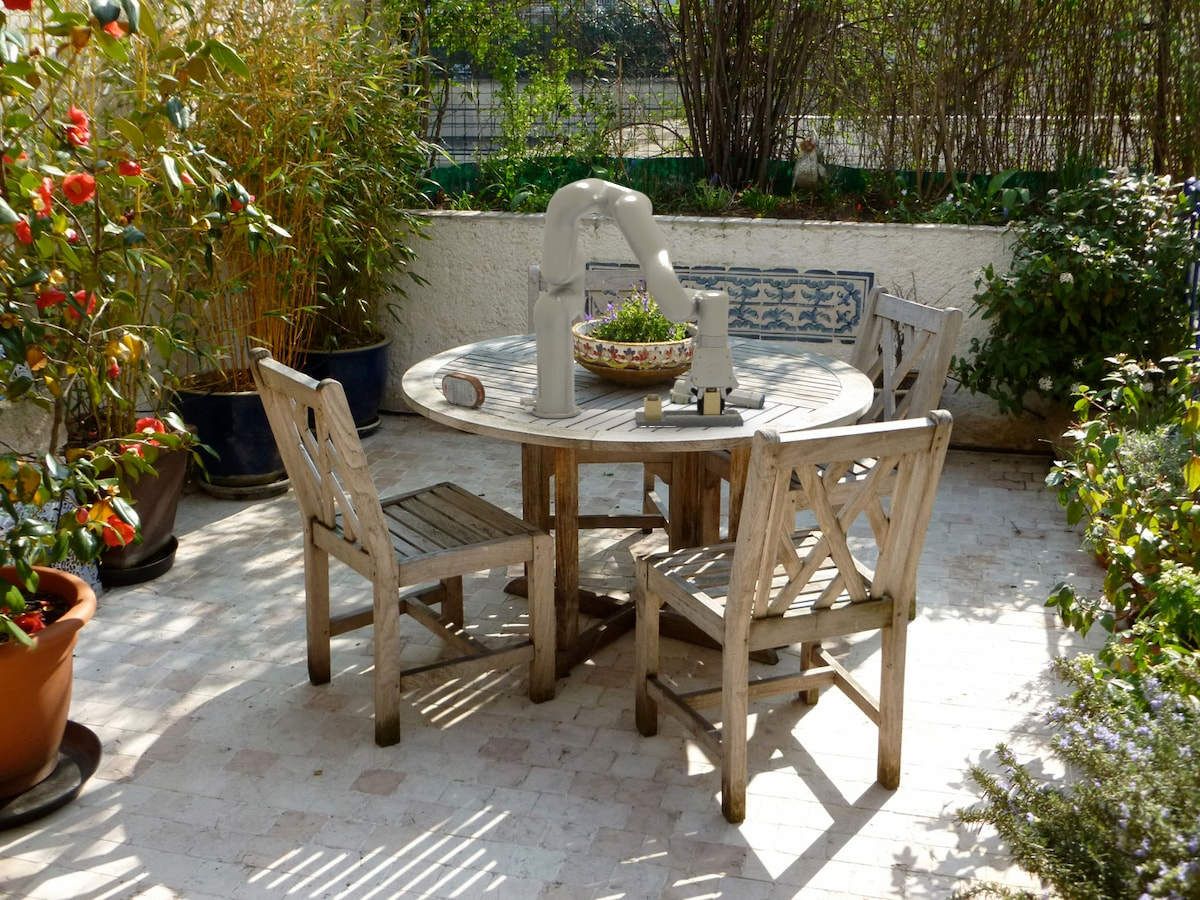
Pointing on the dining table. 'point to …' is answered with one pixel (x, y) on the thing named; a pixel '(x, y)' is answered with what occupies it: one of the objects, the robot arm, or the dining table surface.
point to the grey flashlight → (734, 397)
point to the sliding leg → (711, 401)
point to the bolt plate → (692, 419)
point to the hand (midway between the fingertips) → (710, 412)
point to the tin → (463, 389)
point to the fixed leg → (652, 407)
